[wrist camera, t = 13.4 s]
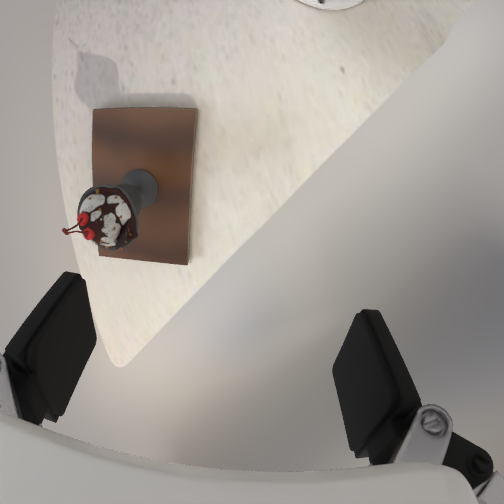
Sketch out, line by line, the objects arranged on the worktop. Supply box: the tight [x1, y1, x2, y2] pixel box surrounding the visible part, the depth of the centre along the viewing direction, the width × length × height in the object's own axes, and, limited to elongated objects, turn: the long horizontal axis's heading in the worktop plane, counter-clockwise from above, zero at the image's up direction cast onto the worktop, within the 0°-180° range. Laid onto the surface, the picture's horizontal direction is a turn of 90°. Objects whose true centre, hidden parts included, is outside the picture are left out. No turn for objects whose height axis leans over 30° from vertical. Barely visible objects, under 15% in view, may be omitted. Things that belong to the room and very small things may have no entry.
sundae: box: [62, 169, 158, 252], centre depth 29 cm, size 7×7×15 cm
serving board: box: [92, 107, 198, 265], centre depth 37 cm, size 20×13×2 cm, turn 173°
